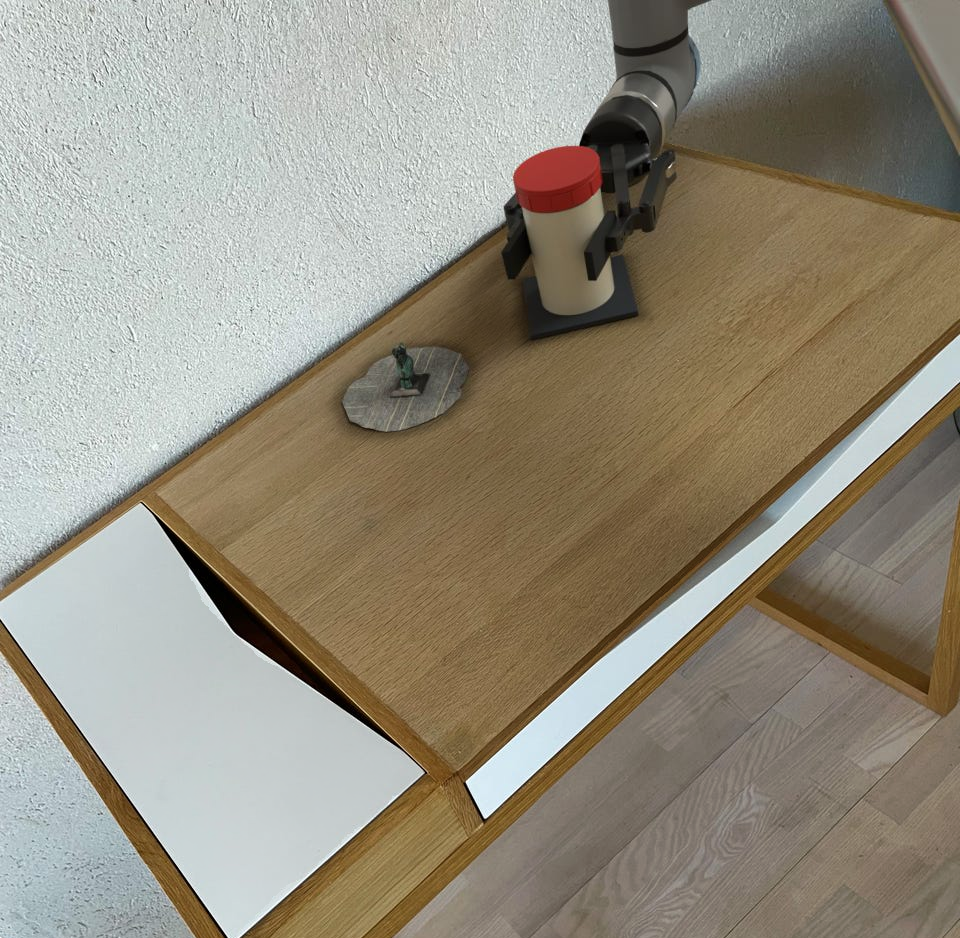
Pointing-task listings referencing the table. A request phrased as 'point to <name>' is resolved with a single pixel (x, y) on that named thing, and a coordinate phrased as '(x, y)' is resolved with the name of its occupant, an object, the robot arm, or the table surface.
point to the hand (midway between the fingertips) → (548, 266)
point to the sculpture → (406, 388)
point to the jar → (567, 257)
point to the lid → (557, 178)
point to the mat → (611, 310)
